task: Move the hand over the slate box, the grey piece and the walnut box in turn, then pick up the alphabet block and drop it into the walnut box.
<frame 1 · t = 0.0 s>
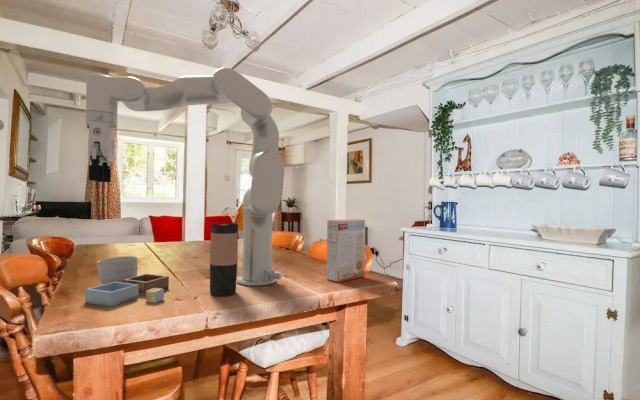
hand: (100, 181, 96), 31 cm above the table, tool pointing down, fingers open, 9 cm apart
slate box: (112, 300, 89), on the table
travel mug: (222, 293, 98), on the table
walnut box: (146, 289, 99), on the table
grey piece: (121, 283, 106), on the table
alphabet block: (154, 301, 90), on the table
cracker box: (345, 279, 121), on the table
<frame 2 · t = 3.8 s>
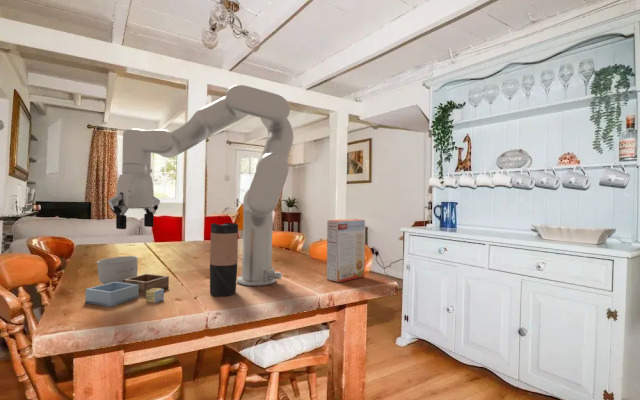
hand: (135, 227, 103), 18 cm above the table, tool pointing down, fingers open, 9 cm apart
nothing on the table moved.
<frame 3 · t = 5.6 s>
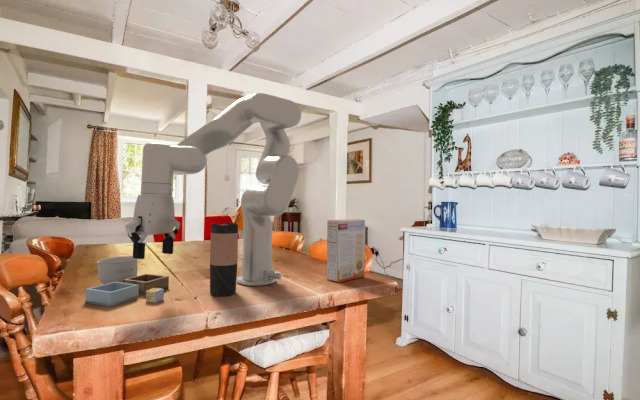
hand: (153, 255, 89), 12 cm above the table, tool pointing down, fingers open, 9 cm apart
nothing on the table moved.
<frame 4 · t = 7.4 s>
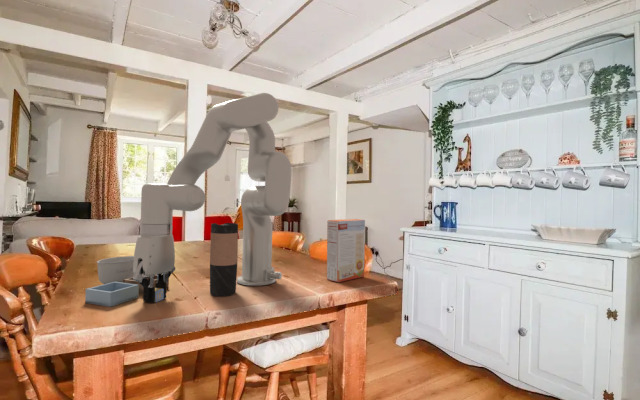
hand: (154, 299, 90), 0 cm above the table, tool pointing down, fingers closed on alphabet block, 3 cm apart
alphabet block: (154, 301, 90), on the table, touching gripper
everything else where it was.
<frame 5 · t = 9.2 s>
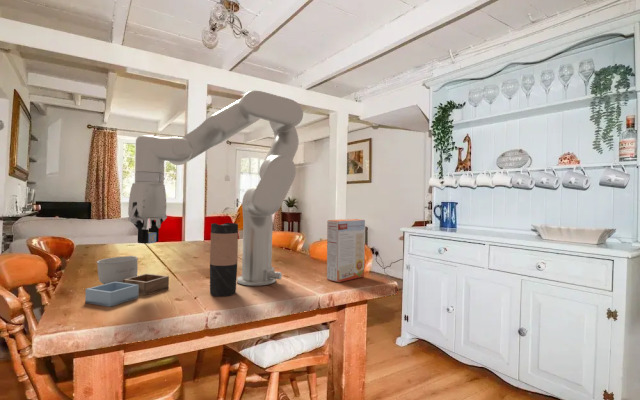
hand: (148, 241, 99), 14 cm above the table, tool pointing down, fingers closed on alphabet block, 3 cm apart
alphabet block: (148, 243, 99), point 14 cm above the table, touching gripper
everything else where it was.
when the fingers open (4 cm above the table, at t = 11.0 s): alphabet block drops 3 cm, resting on walnut box.
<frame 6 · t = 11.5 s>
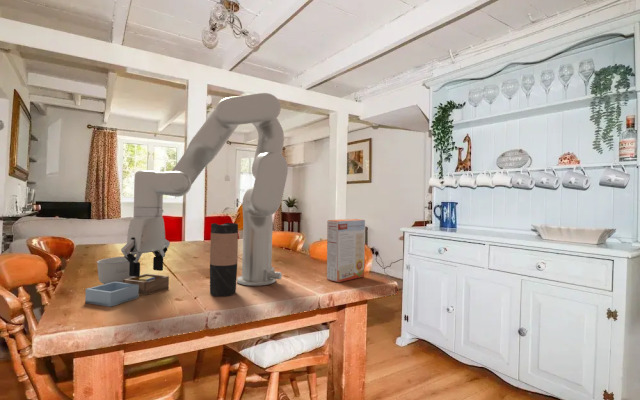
hand: (146, 272, 99), 5 cm above the table, tool pointing down, fingers open, 8 cm apart
alphabet block: (146, 288, 99), resting on walnut box
everything else where it was.
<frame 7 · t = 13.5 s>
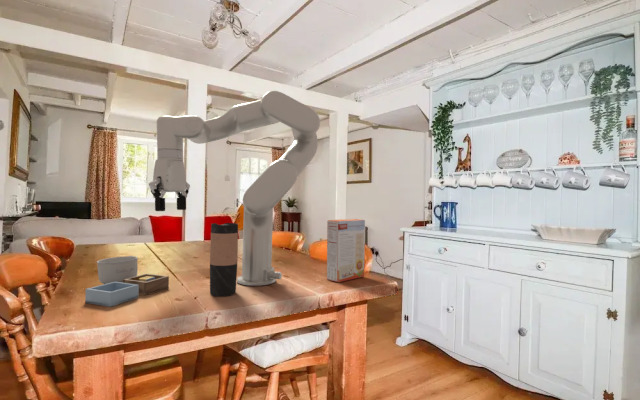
hand: (171, 210, 108), 23 cm above the table, tool pointing down, fingers open, 9 cm apart
nothing on the table moved.
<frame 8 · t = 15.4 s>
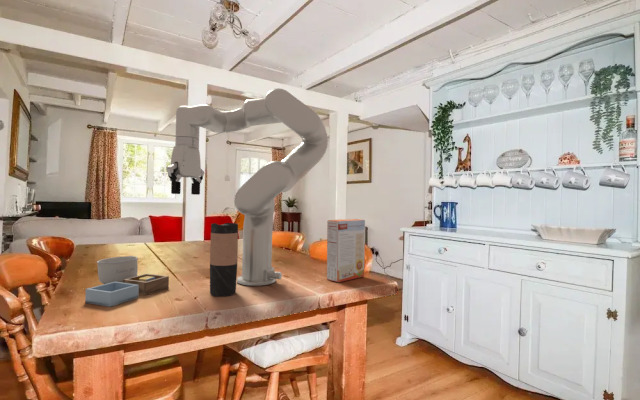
hand: (186, 194, 116), 28 cm above the table, tool pointing down, fingers open, 9 cm apart
nothing on the table moved.
at the end: alphabet block inside the target area on the walnut box (0.1 cm from its centre), point 0.4 cm above the walnut box's base; the gripper is holding nothing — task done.
